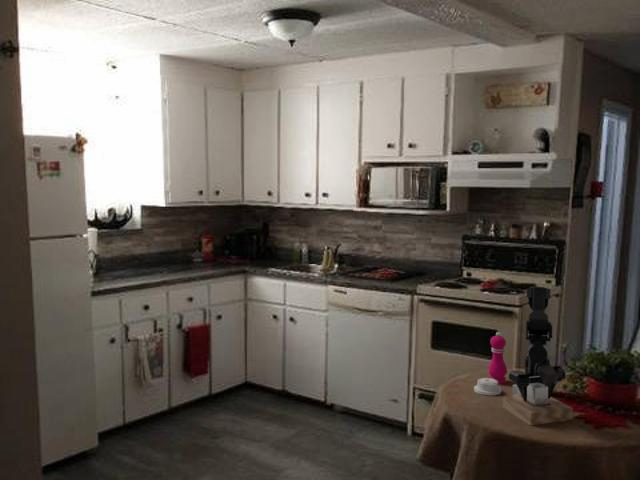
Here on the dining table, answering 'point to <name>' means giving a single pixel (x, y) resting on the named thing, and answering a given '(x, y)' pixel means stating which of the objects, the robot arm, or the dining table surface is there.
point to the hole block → (537, 410)
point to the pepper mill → (498, 359)
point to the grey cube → (515, 391)
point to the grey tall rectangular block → (537, 394)
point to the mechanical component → (487, 387)
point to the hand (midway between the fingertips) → (536, 399)
